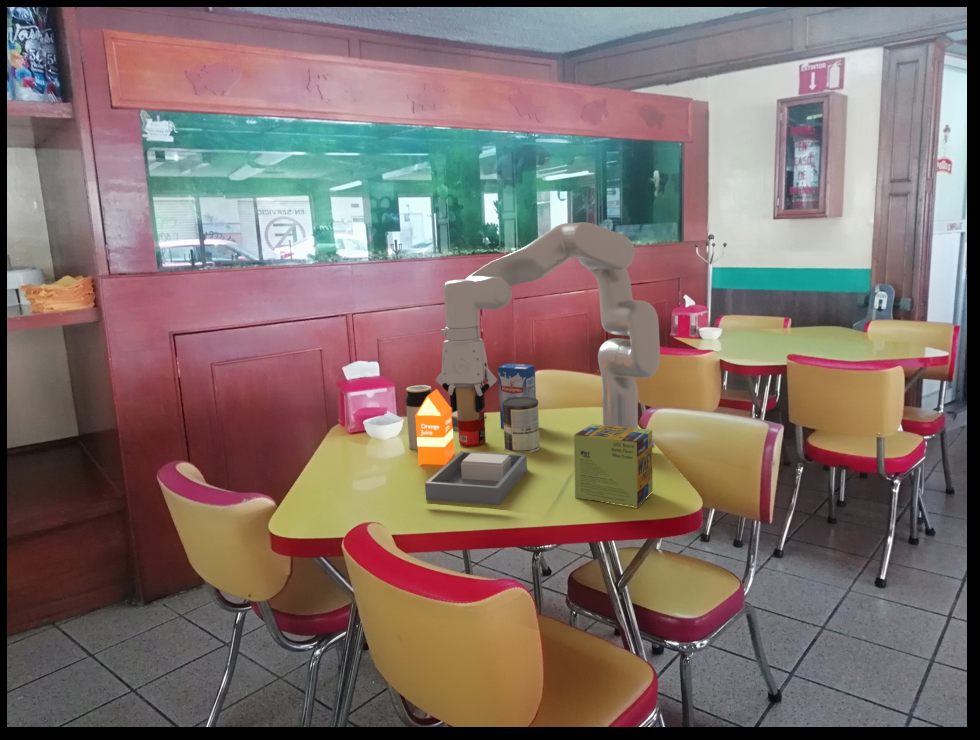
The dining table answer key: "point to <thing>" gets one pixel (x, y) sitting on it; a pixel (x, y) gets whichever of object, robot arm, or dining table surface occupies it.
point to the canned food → (472, 432)
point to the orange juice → (434, 430)
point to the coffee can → (521, 424)
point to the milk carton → (515, 383)
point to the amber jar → (466, 402)
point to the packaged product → (456, 421)
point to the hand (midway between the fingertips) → (467, 410)
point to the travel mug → (415, 409)
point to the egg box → (485, 466)
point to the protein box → (613, 464)
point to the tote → (473, 482)
